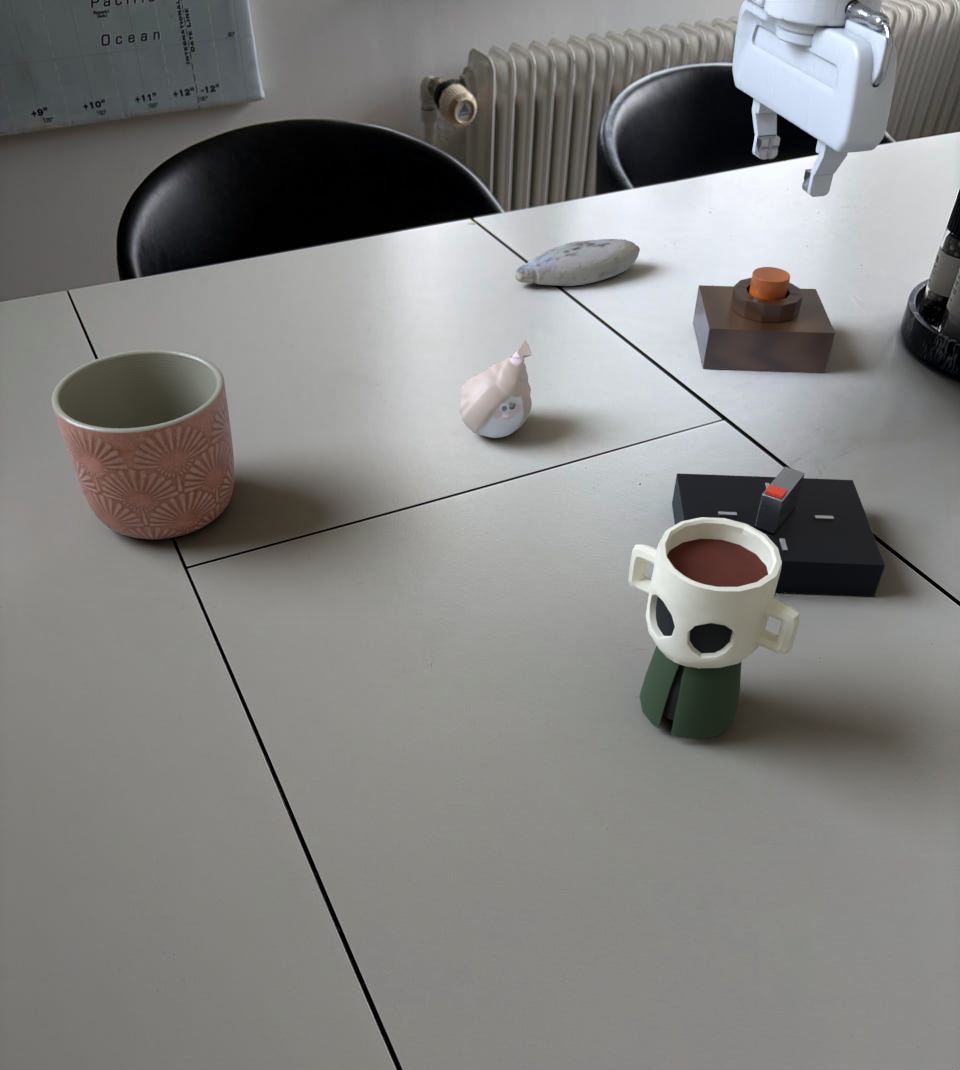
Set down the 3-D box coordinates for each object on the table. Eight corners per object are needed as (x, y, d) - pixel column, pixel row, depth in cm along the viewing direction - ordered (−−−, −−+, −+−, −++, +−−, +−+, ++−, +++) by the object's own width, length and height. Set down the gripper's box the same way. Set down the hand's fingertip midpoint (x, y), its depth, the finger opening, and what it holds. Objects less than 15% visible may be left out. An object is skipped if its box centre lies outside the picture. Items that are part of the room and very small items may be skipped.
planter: (276, 498, 85) (258, 377, 78) (163, 576, 78) (131, 450, 70) (170, 451, 90) (144, 333, 83) (54, 519, 83) (14, 396, 75)
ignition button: (782, 287, 104) (787, 267, 102) (788, 303, 101) (793, 282, 100) (746, 286, 104) (750, 266, 102) (751, 301, 101) (755, 281, 100)
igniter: (806, 327, 110) (820, 271, 106) (825, 373, 102) (840, 315, 98) (692, 323, 110) (701, 267, 106) (702, 368, 103) (712, 311, 99)
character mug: (587, 704, 68) (605, 546, 60) (642, 646, 73) (666, 491, 64) (737, 782, 64) (781, 623, 55) (786, 715, 68) (834, 557, 59)
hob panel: (843, 510, 85) (853, 478, 83) (874, 597, 77) (886, 563, 75) (671, 504, 85) (677, 471, 83) (684, 589, 77) (690, 555, 75)
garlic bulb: (532, 450, 91) (536, 366, 86) (459, 449, 91) (458, 366, 86) (528, 411, 96) (532, 330, 91) (459, 411, 96) (459, 330, 91)
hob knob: (776, 498, 81) (785, 463, 79) (796, 505, 80) (805, 469, 78) (754, 527, 78) (762, 491, 76) (774, 534, 77) (783, 498, 75)
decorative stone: (504, 278, 118) (505, 248, 116) (621, 255, 123) (623, 226, 121) (529, 299, 114) (531, 269, 112) (649, 275, 119) (652, 245, 117)
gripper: (937, 17, 74) (884, 215, 83) (800, -38, 88) (769, 136, 98) (857, 21, 72) (812, 221, 82) (732, -35, 87) (707, 141, 96)
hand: (788, 174), depth 90 cm, fingers open, 8 cm apart
